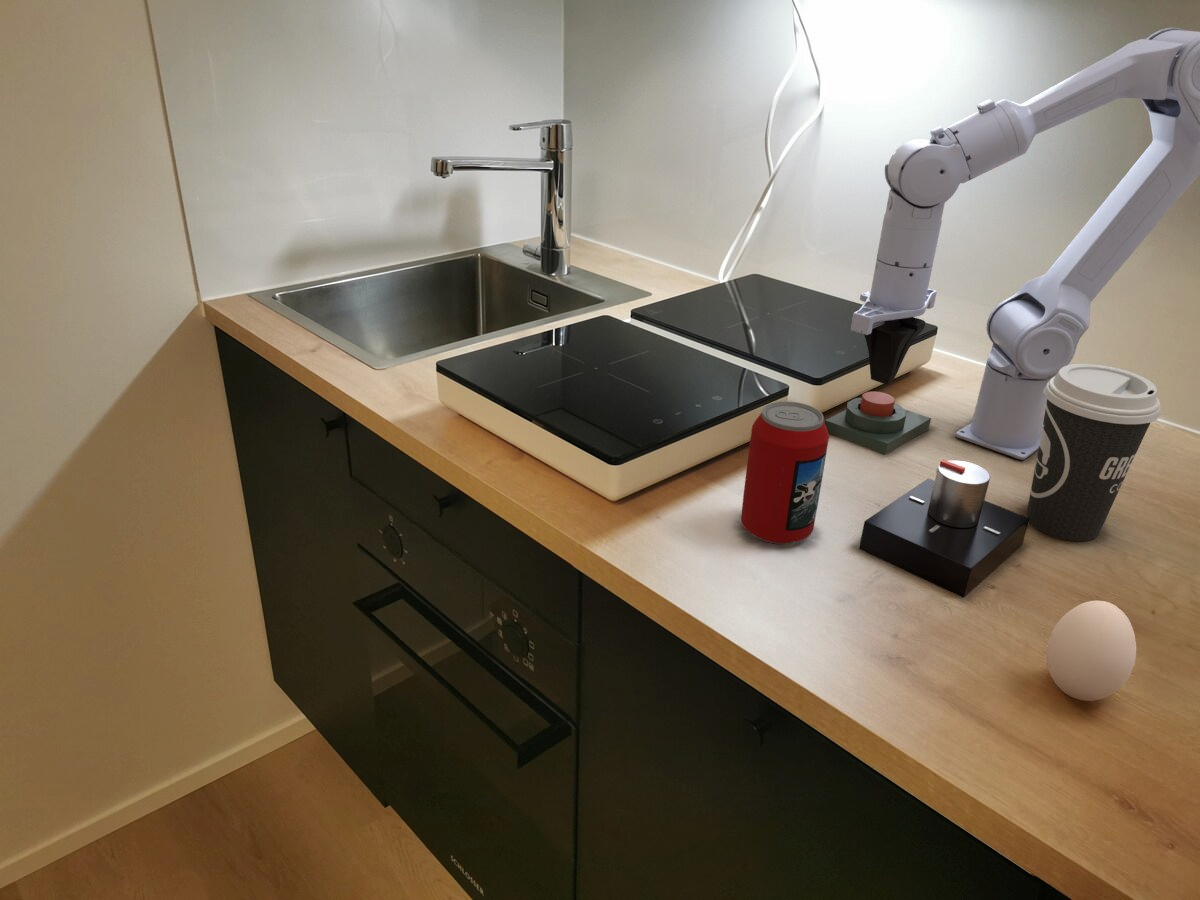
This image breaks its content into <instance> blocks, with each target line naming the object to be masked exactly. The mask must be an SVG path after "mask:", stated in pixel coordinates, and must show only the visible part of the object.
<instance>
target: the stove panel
mask: <svg viewBox="0 0 1200 900" xmlns="http://www.w3.org/2000/svg"><path fill="white" fill-rule="evenodd" d="M934 482H935V479H934V480H933V479H931V478H927V479H925V480H924V481H922V482H921V483H919V484H918V485H916V486H914V488H912V489H910V490H909V491H907V492H905V493H904V494H903V495H901V496H900V497H898V498H897V499H896V500H894V501H892V502H891V503H889V504H888V505H887V506H884V507H883V508H882V509H880V510H878V511H877V512H876V513H875V514H873V515H871V516H870V517H868V518H867V519H865V520H864V521H863V526H862V531H861V535H860V536H861V537H860V542H859V546H858V550H860V551H862V552H865V553H867V554H868V555H870V556H873V557H875V558H877V559H879V560H880V561H881V560H882V561H884V562H886V563H887V564H890V565H892V566H894V567H896V568H899V569H900V570H903V571H905V572H907V573H909V574H912V575H914V576H916V577H918V578H920V579H921V580H923V581H927V582H929V583H931V584H933V585H935V586H936V587H939V588H941V589H943V590H946V591H947V592H950V593H952V594H954V595H956V596H958V597H961V598H963V599H964V598H965V597H967V596H968V594H970V593H971V592H972V591H973V590H975V588H976V587H977V586H979V585H980V584H981V583H982V582H983V581H984V580H985V579H987V577H989V576H990V575H991V574H992V573H993V572H994V571H995V570H997V569H998V567H1000V566H1001V565H1002V564H1003V563H1004V562H1005V561H1007V560H1008V559H1009V558H1010V557H1012V555H1013V554H1015V552H1016V551H1018V550H1019V549H1020V548H1021V547H1023V544H1024V542H1025V541H1024V540H1025V537H1026V533H1027V530H1028V527H1029V524H1030V522H1029V520H1030V518H1028V517H1027V516H1025V515H1022V514H1020V513H1018V512H1015V511H1012V510H1011V509H1008V508H1005V507H1002V506H1001V505H1000V506H999V505H997V504H995V503H992V502H990V501H987V500H985V499H984V503H983V507H982V511H981V515H980V518H979V522H978V523H977V524H976V525H975V526H973V527H969V528H957V527H951V526H948V525H944V524H942V523H940V522H938V521H936V520H935V519H933V518H932V517H931V516H930V515H929V512H928V508H929V503H930V499H931V495H932V490H933V486H934Z"/></svg>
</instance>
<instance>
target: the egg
mask: <svg viewBox="0 0 1200 900" xmlns="http://www.w3.org/2000/svg"><path fill="white" fill-rule="evenodd" d="M1045 649H1046V650H1045V652H1046V653H1045V660H1046V666H1047V670H1048V672H1049V675H1050V676H1051V678H1052V680H1053V682H1054V684H1055V685H1056V686H1057V687H1058V688H1059V689H1060V690H1061V691H1062V692H1063V693H1065V694H1066V695H1067V696H1069V697H1070V698H1073V699H1076V700H1078V701H1084V702H1085V701H1086V702H1094V701H1098V700H1104V699H1107V698H1108V697H1110V696H1112V695H1114V694H1116V693H1117V692H1118V691H1120V689H1122V688H1123V687H1124V686H1125V685H1126V684H1127V682H1128V680H1129V678H1130V677H1131V675H1132V673H1133V671H1134V668H1135V664H1136V659H1137V641H1136V635H1135V631H1134V628H1133V626H1132V622H1131V621H1130V618H1129V617H1128V615H1126V613H1125V612H1124V611H1123V610H1121V608H1119V607H1118V606H1117V605H1115V604H1113V603H1111V602H1109V601H1106V600H1105V601H1104V600H1097V599H1096V600H1089V601H1086V602H1082V603H1080V604H1078V605H1077V606H1075V607H1073V608H1072V609H1070V610H1068V611H1067V612H1066V613H1065V614H1064V615H1063V616H1062V617H1061V618H1060V619H1059V620H1058V621H1057V623H1056V624H1055V626H1054V627H1053V629H1052V630H1051V633H1050V635H1049V637H1048V640H1047V645H1046V648H1045Z"/></svg>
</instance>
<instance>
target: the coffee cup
mask: <svg viewBox="0 0 1200 900" xmlns="http://www.w3.org/2000/svg"><path fill="white" fill-rule="evenodd" d="M1043 393H1044V395H1045V397H1046V398H1047V403H1046V409H1045V415H1044V421H1043V426H1042V432H1041V437H1040V443H1039V448H1038V450H1037V454H1036V460H1035V464H1034V471H1033V477H1032V481H1031V487H1030V492H1029V498H1028V504H1027V509H1026V516H1025V517H1028V518H1030V520H1029V524H1030V525H1031V526H1032V527H1034V528H1035V529H1037V530H1038V531H1040V532H1042V533H1043V534H1046V535H1048V536H1049V537H1053V538H1056V539H1060V540H1063V541H1070V542H1088V541H1092V540H1094V539H1096V538H1097V537H1099V535H1100V533H1101V531H1102V529H1103V526H1104V524H1105V522H1106V520H1107V517H1108V515H1109V513H1110V511H1111V509H1112V507H1113V504H1114V502H1115V500H1116V498H1117V496H1118V494H1119V492H1120V489H1121V487H1122V485H1123V483H1124V482H1125V481H1124V480H1125V479H1126V476H1127V475H1128V472H1129V470H1130V468H1131V466H1132V463H1133V462H1134V459H1135V457H1136V455H1137V452H1138V451H1139V448H1140V446H1141V444H1142V442H1143V440H1144V437H1145V436H1146V433H1147V432H1148V430H1149V427H1150V425H1151V423H1153V422H1155V421H1157V420H1158V419H1159V418H1160V417H1161V414H1162V413H1161V412H1162V411H1161V409H1162V406H1161V401H1160V399H1159V398H1158V388H1157V386H1156V385H1155V384H1154V383H1153V382H1152V381H1151V380H1149V379H1148V378H1146V377H1143V376H1141V375H1140V374H1138V373H1135V372H1131V371H1129V370H1126V369H1123V368H1122V369H1121V368H1118V367H1114V366H1108V365H1103V364H1094V363H1073V364H1068V365H1067V366H1064V367H1062V368H1061V369H1060V370H1059V372H1058V373H1057V375H1056V376H1054V377H1053V378H1051V379H1050V381H1049V382H1048V383H1047V385H1046V386H1045V388H1044V390H1043Z"/></svg>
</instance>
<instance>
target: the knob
mask: <svg viewBox="0 0 1200 900" xmlns="http://www.w3.org/2000/svg"><path fill="white" fill-rule="evenodd" d="M936 469H937V470H936V473H935V478H934V481H935V482H934V486H933V490H932V495H931V499H930V503H929V508H928V512H929V515H930V516H931V517H932V518H933V519H935V520H936V521H938V522H940V523H942V524H944V525H948V526H951V527H957V528H969V527H973V526H975V525H976V524H977V523H978V522H979V518H980V515H981V511H982V507H983V503H984V500H985V499H986V495H987V491H988V489H989V488H988V487H989V484H990V480H991V475H990V473H989V472H988V471H987V469H985V468H983V467H981V466H980V465H978V464H975V463H972V462H968V461H963V460H956V459H955V460H952V459H951V460H946V459H942V460H940V462H939V464H938V466H937V468H936Z"/></svg>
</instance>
